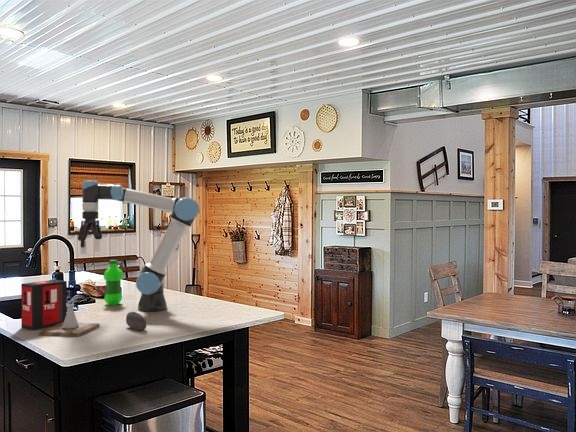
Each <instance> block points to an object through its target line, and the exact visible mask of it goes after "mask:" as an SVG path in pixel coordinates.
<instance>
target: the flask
mask: <svg viewBox="0 0 576 432" xmlns="http://www.w3.org/2000/svg"><path fill="white" fill-rule="evenodd" d="M74 308H75V304H74V303H73V304H67V314H66V317H65V320H64V323H63V326H62V328H64V329H71V328H77V327H79V324H78V323H79V322H78V319H77V317H76V314H75V311H74Z"/></svg>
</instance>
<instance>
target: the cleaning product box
mask: <svg viewBox="0 0 576 432" xmlns="http://www.w3.org/2000/svg"><path fill="white" fill-rule="evenodd" d="M67 283H68V282H67V280H60V279H51V280H42V281H33V282H26V283H21V285H20V286H21V294H20V295H21V296H20V297H21V303H20V304H21V307H20V309H21V314H20V315H21V318H20V319H21V321H20V322H21V323H20V324H21V329H24V330H29V331H37V330H44V329H47V328H49V327H52V326H54V325H57V324H60V323H62V322H64V320H65V317H66V314H67V305H68V304H67V303H68V302H67V301H68V300H67V297H68V296H67V295H68V294H67V293H68V292H67V287H68V286H67Z"/></svg>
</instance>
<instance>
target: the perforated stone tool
mask: <svg viewBox="0 0 576 432" xmlns="http://www.w3.org/2000/svg"><path fill="white" fill-rule="evenodd" d="M125 318H126V319H125V323H126V325H128V327H130V329H132V330H133V329H134V330H136V331H141V332H142V331H144V330H146V329H147V320H146V318H145V317H144V316H143V315H141V314H140V313H138V312H135V311H130V312H128V313H127V314H126V317H125Z"/></svg>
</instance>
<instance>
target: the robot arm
mask: <svg viewBox="0 0 576 432" xmlns="http://www.w3.org/2000/svg"><path fill="white" fill-rule="evenodd" d="M81 196H82V204H81V205H82V214H81V215H82V217H81V218H82V219H84V220H81V222H80V229H79V232H78V236H77V241H79V242H80V255H86V254H87V237H88V236H89V235H88V234H89V232H90V231H91V232H92V234H93V237H94V239H93V253H100V252H101V251H100V250H101V245H100V242H101V240H102V239H103V235H102V234H103V233H102V230H101V225H100V220H99V200H108V201H109V200H114V201H118V202H123V203H126V204H132V205H136V206H140V207H145V208H149V209H154V210H159V211H164V212H169V213H171V215H170V223H169V224H168V227H167V228H166V230H165V232H164V234H163V236H162V238H161V240H160V242H159V244H158V246H157V247H156V250H155V251H154V254H153V256H152V257H151V260H150V261H149V262H148V263H145V264H144V266H142V267H141V270H140V274H138V276H137V277H136V280H135V282H136V283H135V286H136V289H137V290H138V291H139V292H140V294H141V295H140V298H139V301H138V303H137V310H138V311H142V312H157V311H163V310H166V309H168V307H167V306H168V305H167V301H166V297H165V295H164V290H165V289H164V279H165V277H166V275H167V272H166V268H167V266H168V265H169V263H170V261H171V259H172V257H173V255H174V253H175V251H176V249H177V247H178V245H179V244H180V242H181V240H182V238H183V235H184V234H185V232H186V230H187V229H188V228H192V227H191V226H192V225H193V223H194V220H195V219H196V217H197V216H198V215H199V211H200V206H199V203H198V202H197V201H196V200H195V199H194V198H191V197H188V196H183V197H174V198H173V197H168V196H163V195H159V194H155V193H150V192H145V191H141V190H135V189H133V188H132V189H131V188H127V187H123V185H121V184H99V181H98V180H84V181H82V195H81Z"/></svg>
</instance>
